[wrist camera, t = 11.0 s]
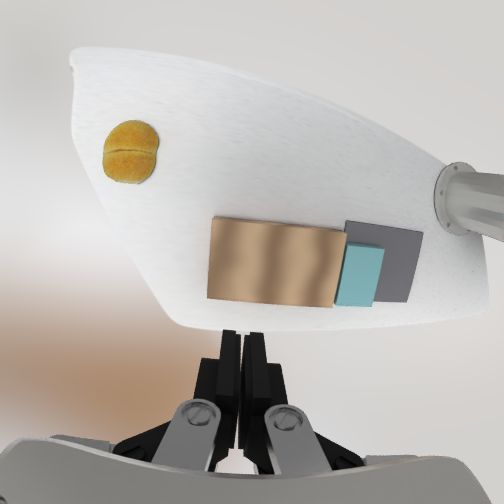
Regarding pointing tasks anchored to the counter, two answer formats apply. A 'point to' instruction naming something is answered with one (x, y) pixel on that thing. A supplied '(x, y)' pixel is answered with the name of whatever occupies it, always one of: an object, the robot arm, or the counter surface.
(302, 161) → the counter surface
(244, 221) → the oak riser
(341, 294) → the teal tile
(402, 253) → the charcoal mat
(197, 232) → the counter surface
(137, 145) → the bread roll
